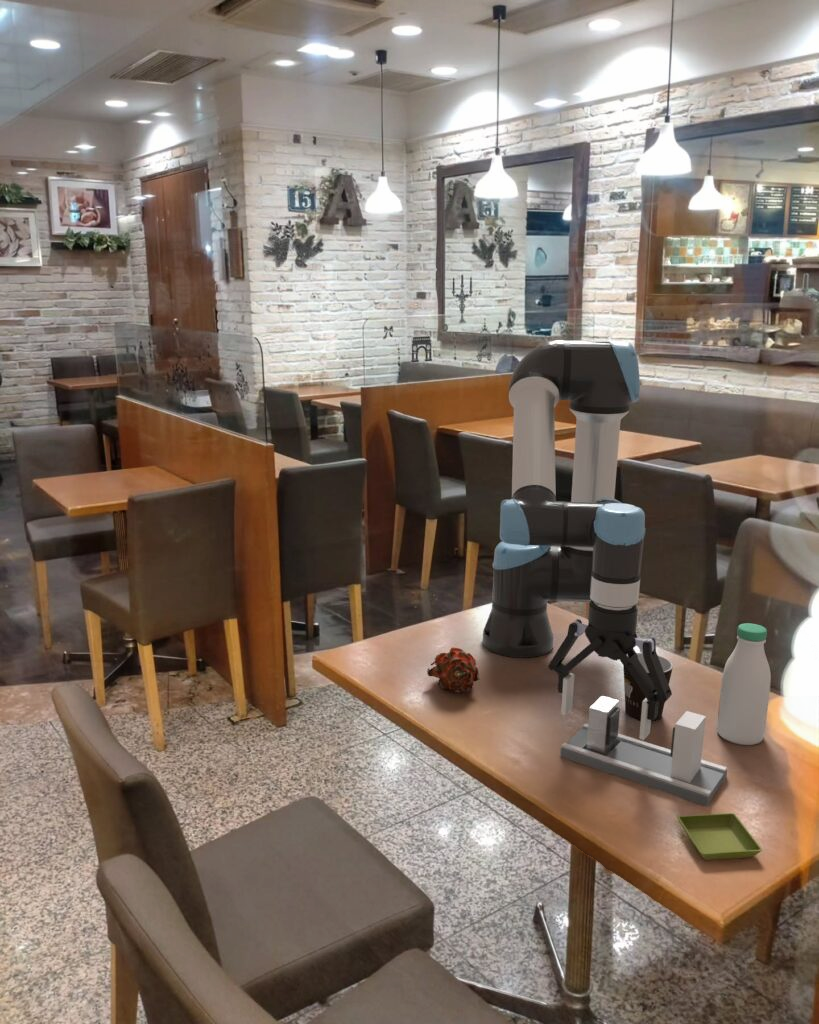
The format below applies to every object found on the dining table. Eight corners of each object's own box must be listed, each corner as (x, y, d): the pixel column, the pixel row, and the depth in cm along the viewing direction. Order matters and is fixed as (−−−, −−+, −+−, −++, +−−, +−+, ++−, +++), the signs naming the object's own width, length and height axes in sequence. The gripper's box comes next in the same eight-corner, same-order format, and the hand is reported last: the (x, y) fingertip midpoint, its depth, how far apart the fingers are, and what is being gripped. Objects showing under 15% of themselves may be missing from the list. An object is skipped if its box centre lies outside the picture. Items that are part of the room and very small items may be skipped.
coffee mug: (669, 727, 154) (675, 675, 151) (619, 722, 155) (623, 670, 153) (664, 697, 165) (669, 648, 162) (618, 693, 167) (621, 644, 164)
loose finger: (598, 744, 148) (601, 695, 146) (617, 750, 146) (621, 701, 144) (585, 757, 144) (589, 707, 142) (606, 763, 142) (610, 713, 140)
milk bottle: (772, 744, 148) (787, 635, 143) (730, 748, 147) (743, 637, 142) (748, 722, 156) (761, 617, 151) (708, 725, 155) (719, 620, 149)
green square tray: (762, 863, 118) (763, 850, 118) (700, 867, 118) (701, 853, 117) (732, 825, 127) (734, 812, 126) (674, 828, 126) (676, 815, 125)
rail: (585, 732, 152) (589, 676, 149) (726, 776, 139) (733, 716, 136) (560, 756, 144) (563, 698, 141) (706, 806, 131) (713, 743, 128)
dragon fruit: (467, 710, 162) (437, 693, 173) (498, 677, 165) (465, 662, 176) (442, 679, 159) (412, 664, 170) (473, 646, 162) (442, 633, 172)
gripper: (700, 612, 134) (687, 736, 140) (552, 579, 148) (546, 694, 154) (684, 627, 128) (671, 756, 134) (532, 592, 142) (526, 710, 148)
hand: (604, 723), depth 144 cm, fingers open, 13 cm apart
